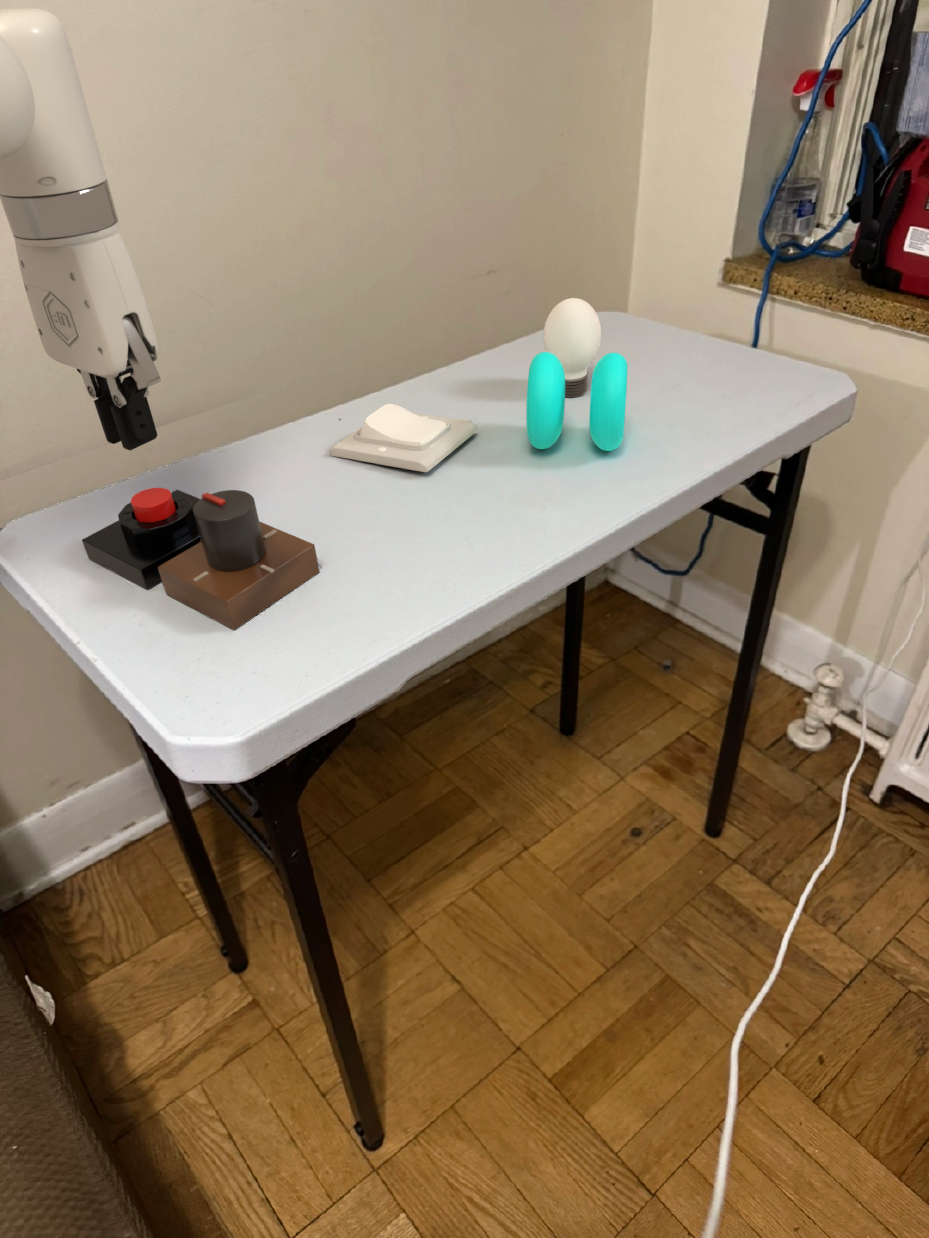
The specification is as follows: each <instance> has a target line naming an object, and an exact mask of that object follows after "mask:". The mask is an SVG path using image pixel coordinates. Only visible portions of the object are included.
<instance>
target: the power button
mask: <svg viewBox="0 0 929 1238" xmlns="http://www.w3.org/2000/svg"><path fill="white" fill-rule="evenodd" d="M171 492H172V491H170V489H168V488H165V487H150V488H145V489H143V490H141V491H139V492H137V493H135V494H134V495H133V496H132V497H131V499H130V502H131V505H132V508H133V511H134V514H135V517H136V519H137V521H139V522H155V521H160V520H164V519H166V518H167V517H169V516H171V515H173V514H174V513H175V512H176V508H175V504H174V501H173V498H172V494H171Z"/></svg>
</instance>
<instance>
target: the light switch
mask: <svg viewBox="0 0 929 1238" xmlns="http://www.w3.org/2000/svg"><path fill="white" fill-rule="evenodd" d="M476 432H478V426H477V424H476V423H475V422H473V421H472V420H469V419H462V418H461V419H460V418H453V417H446V416H441V415H432V414H427V413H419V412H411V411H409V410H408V409H406V408H404V407H402V406H401V405H398V404H395V403H391V402H390V403H387V404H384V405H382V406H381V407H379V408H378V409H377V410H375V411H373V412H372V413H370V414H369V415H368V416H366V418H365V420H364V422H363V425H362V426H361V427H359V428H358V429H356V430H355V431H354V432H352V433H350V434H349V435H348V436H346V437H345V438H343V439H341V440H340V441H339V442H338V443H336V444H335V445H333V446H332V447H331V448H330V449H329V455H330V456H332V457H336V458H337V457H338V458H341V459H342V458H343V459H347V460H348V459H349V460H354V461H359V462H364V463H372V464H375V465H382V466H387V467H393V468H399V469H404V470H410V471H414V472H415V471H416V472H422V473H428V472H430V471H431V470H432V469H433V468H434V467H436V466H437V465H438V464H439V463H440V462H441V461H443V460H444V459H445V458H447V456H449V455H450V454H451V453H453V452H454V451H455V450H456V449H458V448H459V446H461V445H462V444H464V442H466V441H467V440H469V438H470V437H471V436H473V435H474V434H475V433H476Z"/></svg>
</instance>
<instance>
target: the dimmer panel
mask: <svg viewBox="0 0 929 1238" xmlns="http://www.w3.org/2000/svg"><path fill="white" fill-rule="evenodd" d="M259 523H260V527H261V531H262V536H263V540H264V544H265V549H266V551H265V555H264V556H263V558H262V559H261V560H260V561H259V562H258V563H256V564H254V565H253V566H250V567H248V568H245V569H242V570H237V571H221V570H217V569H214V568H212V567H211V566H210V565H209V564H208V562H207V559H206V555H205V551H204V548H203V544H202V541H201V542H200V543H198V544H196V545H195V546H193V547H191V548H189V549H188V550H186V551H184V552H183V553H181V554H179V555H177V556H176V557H174V558H172V559H171V560H169V561H167V562H165V563H164V564H162V565H160V566H159V567H158V570H159V573H160V576H161V579H162V582H161V583H162V585H163V589H164V591H165V594H166V596H168V597H170V598H171V599H173V600H175V601H178V602H180V603H181V604H183V605H185V606H187V607H189V608H190V609H192V610H194V611H197V612H198V613H200V614H202V615H203V616H206V617H208V618H209V619H212V620H214V621H215V622H218V623H219V624H220V625H223V626H225V627H227V628H229V629H230V630H233V631H236V630H237V629H239V628H240V627H242V626H243V625H245V624H246V623H248V622H249V621H250V620H252V619H254V618H255V617H256V616H258V615H260V614H261V613H262V612H264V611H265V610H266V609H267V610H268V608H270V607H271V606H273V605H274V604H275V603H277V602H279V601H280V600H281V599H283V598H284V597H286V596H288V594H290V593H291V592H293V591H295V590H296V589H297V588H299V587H300V586H302V585H303V584H304V583H306V582H308V581H309V580H310V579H312V578H313V577H315V576H316V575H318V574H319V573H320V567H319V562H318V561H319V560H318V557H317V551H316V546H315V544H314V543H312V542H309V541H308V540H305V539H303V538H300V537H298V536H296V535H293V534H291V533H288V532H286V531H283V530H281V529H279V528H276V527H274V526H272V525H269V524H267V523H264V522H262V521H260V520H259Z"/></svg>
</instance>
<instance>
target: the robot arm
mask: <svg viewBox="0 0 929 1238" xmlns="http://www.w3.org/2000/svg"><path fill="white" fill-rule="evenodd" d="M0 202H1V204H2V208H3V211H4V213H5V217H6V220H7V222H8V224H9V228H10V230H11V233H12V236H13V237H12V238H13V240H14V243H15V250H16V255H17V260H18V267H19V269H20V274H21V278H22V283H23V287H24V289H25V293H26V297H27V299H28V303H29V307H30V310H31V313H32V316H33V319H34V323H35V326H36V330H37V332H38V335H39V338H40V341H41V344H42V347H43V349H44V351H45V353H46V355H47V356H48V357H49V358H51V359H52V360H53V361H55V362H58V363H60V364H63V365H66V366H68V367H70V368H74V369H76V371H77V373H79V374H80V375H81V377H82V380H83V384H84V386H85V389H86V391H87V393H88V395H89V396H90V397H91V398H92V399H93V403H94V406H95V409H96V412H97V415H98V417H99V421H100V424H101V427H102V430H103V433H104V436H105V439H106V441H107V442H108V443H109V444H112V445H115V444H118V443H120V442H121V445H122V448H123V449H125V450H127V451H133V450H135V449H137V448H139V447H141V446H143V445H145V444H148V443H149V442H152V441H154V440H156V439H157V438H158V432H157V431H158V430H157V427H156V424H155V421H154V418H153V417H154V416H153V414H152V410H151V407H150V404H149V400H148V397H149V396H150V391H149V388H150V387H151V386H154V385H157V384H158V383H160V382H161V380H162V379H161V375H160V374H159V371H158V369H157V367H156V365H155V361H157V360H158V357H159V344H158V340H157V336H156V331H155V327H154V324H153V320H152V317H151V312H150V310H149V306H148V304H147V300H146V298H145V295H144V292H143V288H142V285H141V283H140V279H139V277H138V273H137V270H136V269H135V266H134V263H133V261H132V258H131V255H130V253H129V251H128V248H127V246H126V244H125V242H124V239H123V236H122V235H121V232H119V230H120V229H121V224H120V221H119V218H118V213H117V210H116V206H115V202H114V198H113V195H112V191H111V188H110V184H109V181H108V178H107V175H106V171H105V168H104V164H103V160H102V156H101V153H100V149H99V145H98V142H97V137H96V135H95V130H94V128H93V123H92V119H91V115H90V113H89V108H88V104H87V102H86V97H85V94H84V91H83V86H82V84H81V79H80V76H79V72H78V68H77V64H76V61H75V57H74V55H73V51H72V46H71V44H70V41H69V38H68V35H67V32H66V29H65V27H64V26H63V24H62V22H61V21H60V20H59V19H58V17H57V16H56V15H54V14H53V13H52V12H50V11H49V10H45V9H42V8H35V7H17V8H14V7H13V8H0ZM128 374H130V375H128ZM124 376H125V377H124ZM122 377H124V378H123V379H122Z"/></svg>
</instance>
